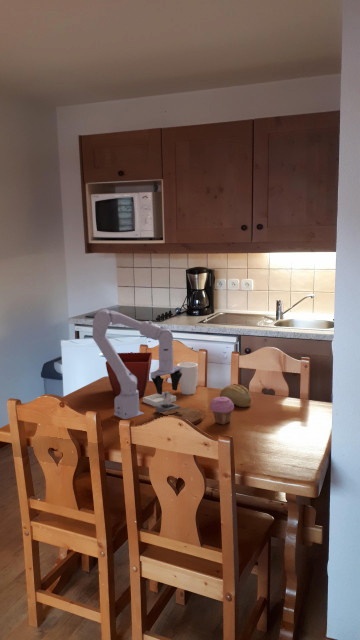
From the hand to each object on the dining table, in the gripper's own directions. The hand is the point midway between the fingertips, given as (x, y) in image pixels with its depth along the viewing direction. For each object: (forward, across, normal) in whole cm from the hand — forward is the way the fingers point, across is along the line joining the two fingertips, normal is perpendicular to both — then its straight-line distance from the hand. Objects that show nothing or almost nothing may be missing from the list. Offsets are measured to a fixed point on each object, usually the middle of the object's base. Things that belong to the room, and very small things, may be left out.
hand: (167, 392), depth 205 cm
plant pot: (+9, +5, +33) cm, 35 cm away
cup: (+9, 0, 0) cm, 9 cm away
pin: (+8, 0, 0) cm, 8 cm away
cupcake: (+9, +8, -23) cm, 26 cm away
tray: (+9, +6, +13) cm, 17 cm away
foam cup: (+9, +24, +15) cm, 30 cm away
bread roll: (+9, +28, -11) cm, 31 cm away
